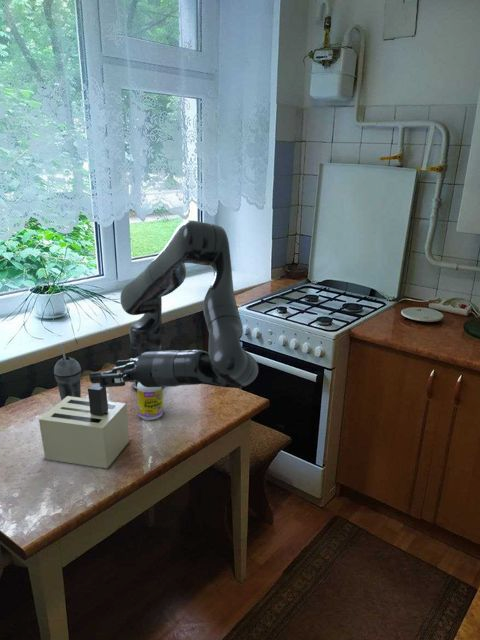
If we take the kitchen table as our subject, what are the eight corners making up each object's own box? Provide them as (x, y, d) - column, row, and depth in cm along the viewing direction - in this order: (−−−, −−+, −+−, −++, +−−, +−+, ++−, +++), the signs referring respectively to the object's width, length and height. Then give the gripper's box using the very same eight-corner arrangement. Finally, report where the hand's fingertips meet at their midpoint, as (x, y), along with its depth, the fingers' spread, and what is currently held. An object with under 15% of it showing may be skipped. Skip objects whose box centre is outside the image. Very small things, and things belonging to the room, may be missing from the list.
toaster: (72, 433, 129) (67, 395, 125) (129, 441, 126) (126, 402, 122) (44, 459, 118) (38, 418, 114) (107, 468, 116) (102, 427, 111)
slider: (96, 408, 119) (94, 383, 116) (108, 410, 119) (105, 384, 116) (90, 414, 116) (87, 388, 114) (102, 416, 116) (99, 390, 113)
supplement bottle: (142, 422, 135) (139, 380, 130) (136, 411, 140) (133, 370, 136) (166, 417, 138) (164, 376, 133) (159, 407, 143) (157, 366, 139)
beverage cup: (90, 403, 144) (82, 339, 137) (79, 415, 138) (70, 349, 130) (66, 401, 145) (57, 337, 137) (53, 413, 138) (44, 347, 131)
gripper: (179, 342, 108) (120, 346, 115) (139, 361, 95) (76, 365, 102) (186, 374, 110) (128, 377, 116) (148, 398, 97) (85, 399, 104)
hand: (104, 371), depth 109 cm, fingers open, 8 cm apart
